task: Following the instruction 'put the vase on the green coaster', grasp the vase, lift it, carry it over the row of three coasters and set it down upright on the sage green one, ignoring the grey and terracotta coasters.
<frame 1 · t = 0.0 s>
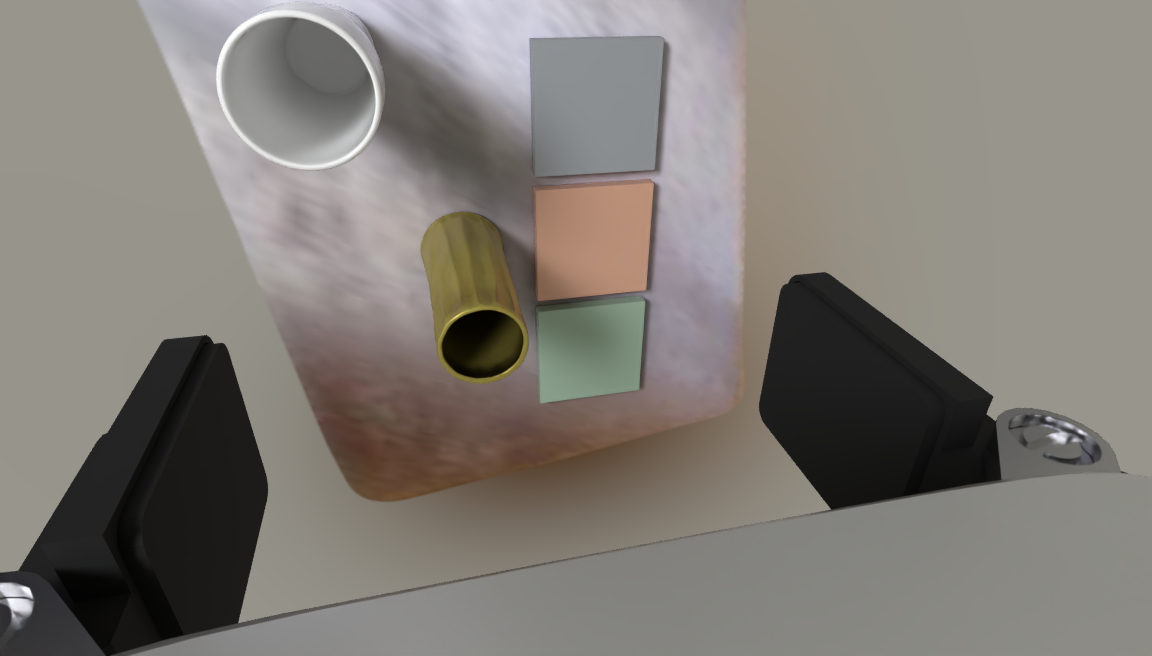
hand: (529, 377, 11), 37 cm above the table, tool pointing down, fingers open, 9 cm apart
terracotta coaster: (591, 238, 51), on the table
vase: (462, 248, 49), on the table
grey coaster: (594, 106, 46), on the table
green coaster: (588, 347, 56), on the table
drinking glass: (331, 49, 40), on the table
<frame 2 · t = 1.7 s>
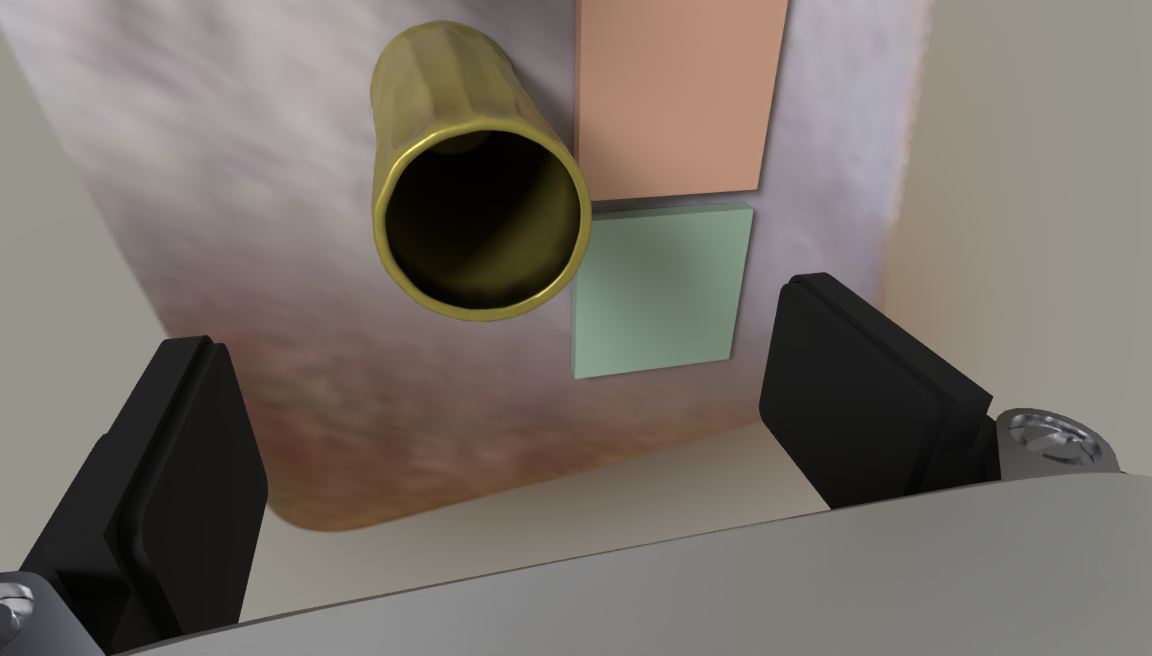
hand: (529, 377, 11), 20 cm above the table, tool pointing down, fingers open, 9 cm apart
terracotta coaster: (671, 92, 29), on the table
vase: (446, 99, 27), on the table
green coaster: (654, 288, 34), on the table
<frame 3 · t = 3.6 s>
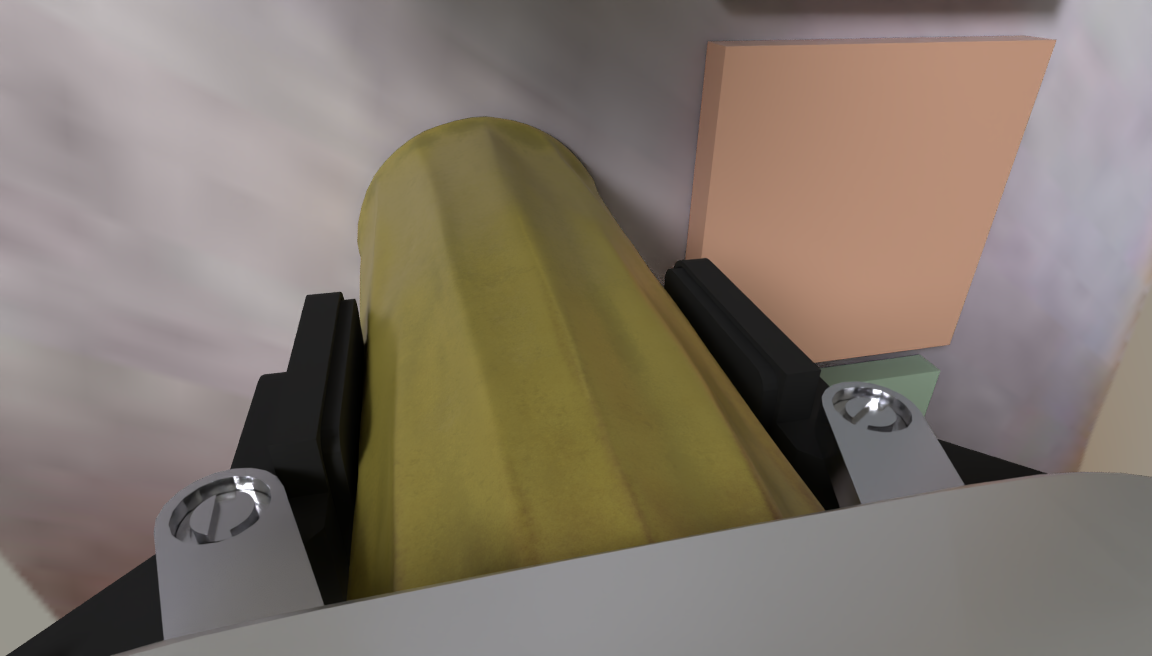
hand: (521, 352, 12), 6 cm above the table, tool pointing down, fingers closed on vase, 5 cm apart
terracotta coaster: (836, 210, 18), on the table
vase: (484, 235, 17), on the table, touching gripper
green coaster: (778, 474, 23), on the table
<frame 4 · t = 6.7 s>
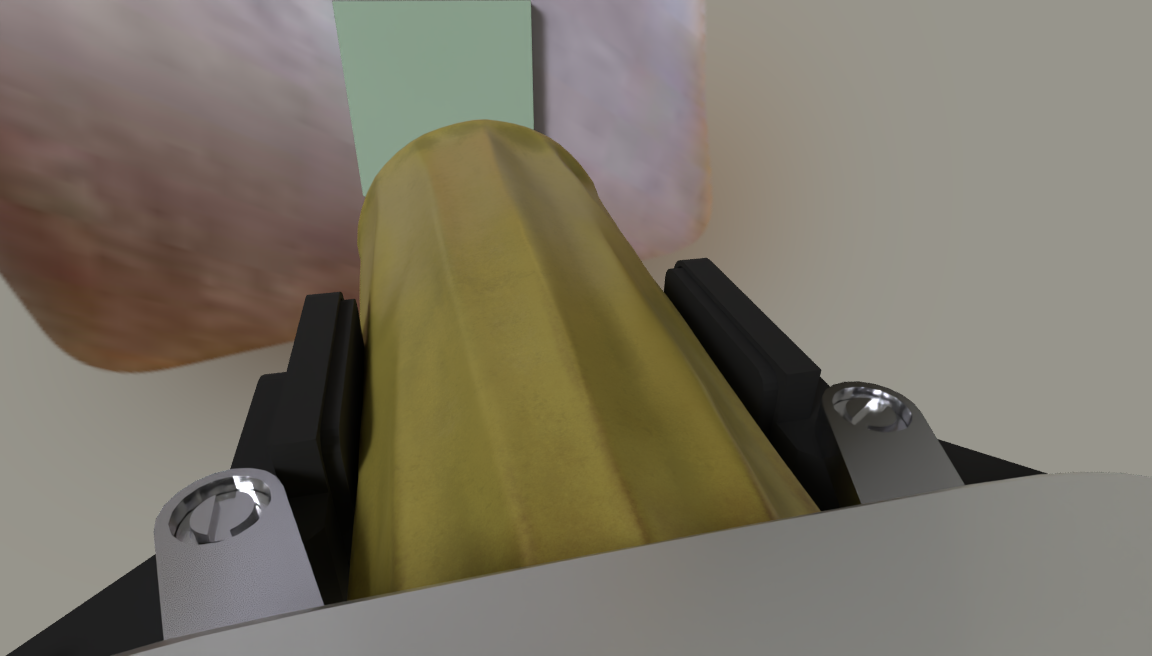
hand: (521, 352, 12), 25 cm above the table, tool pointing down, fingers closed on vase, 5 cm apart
vase: (484, 237, 17), point 19 cm above the table, touching gripper
green coaster: (442, 98, 33), on the table
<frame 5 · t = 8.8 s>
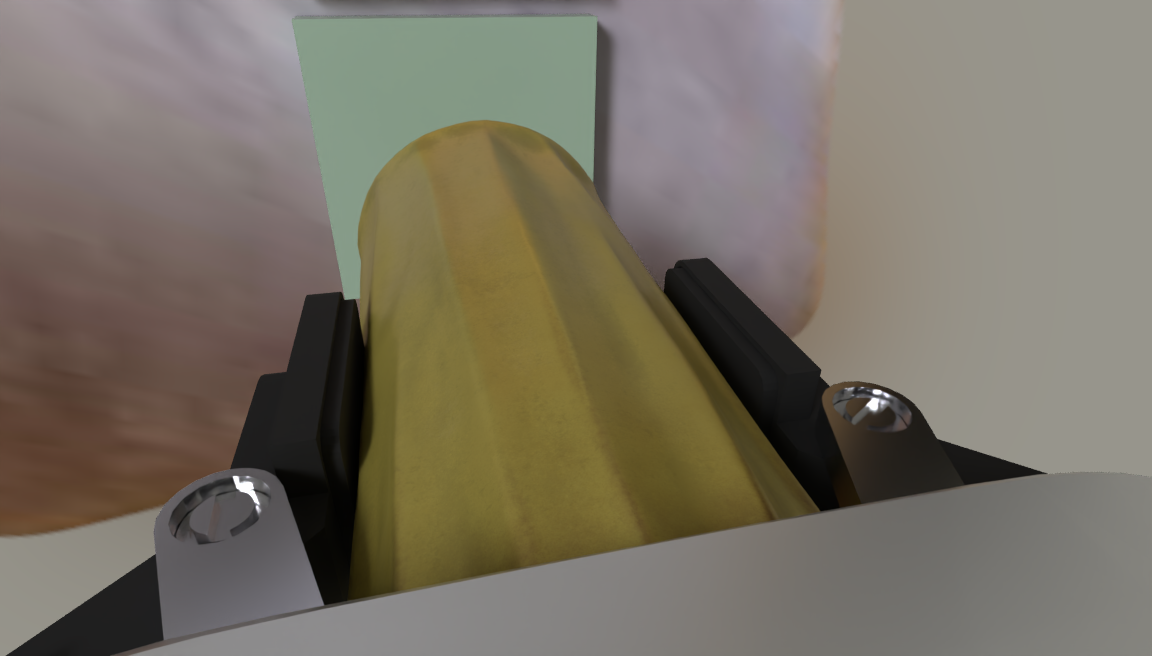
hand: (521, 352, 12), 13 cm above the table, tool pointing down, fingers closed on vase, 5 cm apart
vase: (484, 238, 17), point 7 cm above the table, touching gripper
green coaster: (460, 158, 22), on the table
when the fingers open (8 cm above the table, at t = 10.3 s): vase drops 1 cm, resting on green coaster.
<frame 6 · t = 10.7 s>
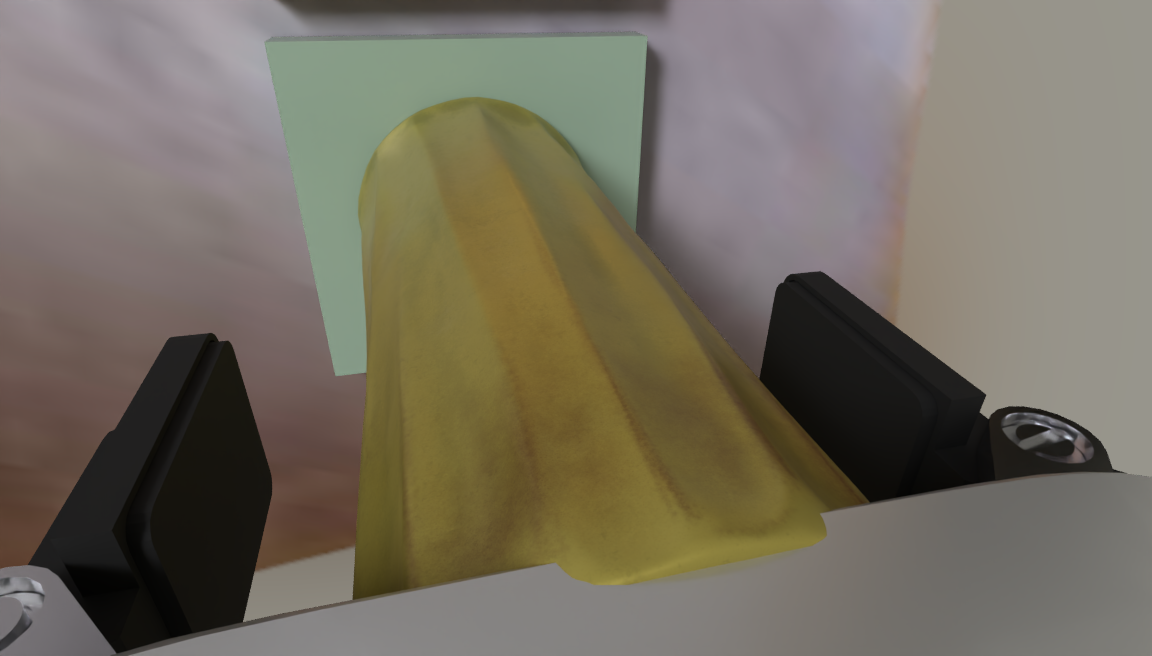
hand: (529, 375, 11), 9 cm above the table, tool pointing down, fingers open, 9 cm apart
vase: (477, 211, 18), point 1 cm above the table, touching green coaster
green coaster: (475, 206, 18), on the table
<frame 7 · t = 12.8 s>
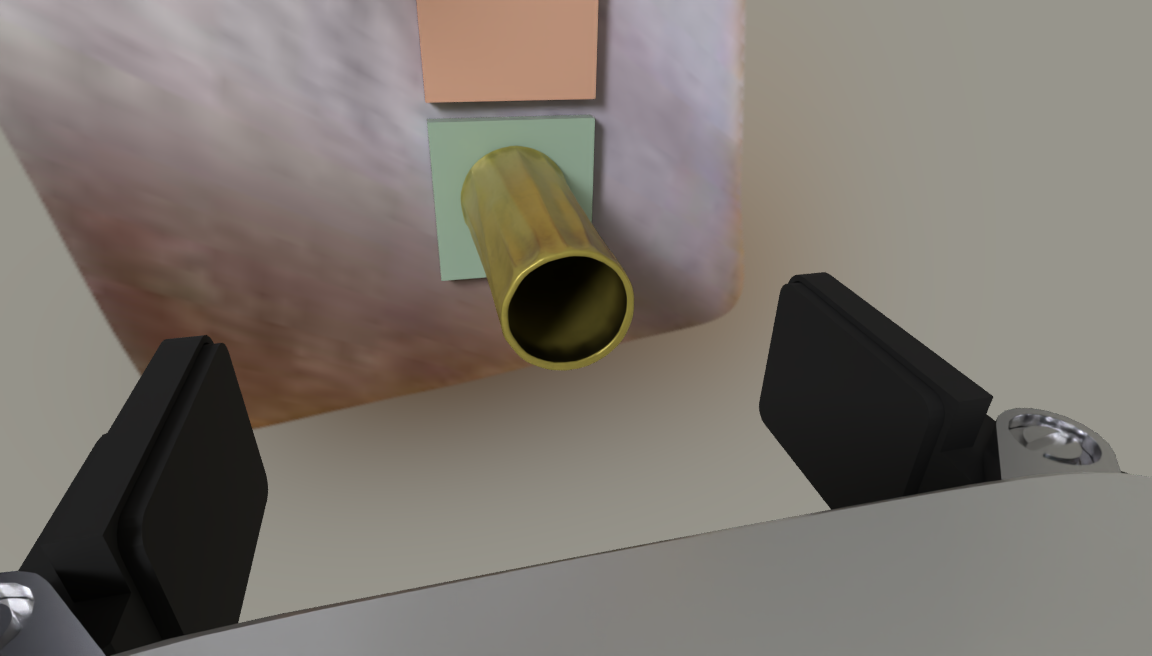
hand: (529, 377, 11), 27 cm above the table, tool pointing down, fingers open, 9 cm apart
terracotta coaster: (507, 4, 33), on the table
vase: (514, 198, 37), point 1 cm above the table, touching green coaster
green coaster: (513, 196, 38), on the table
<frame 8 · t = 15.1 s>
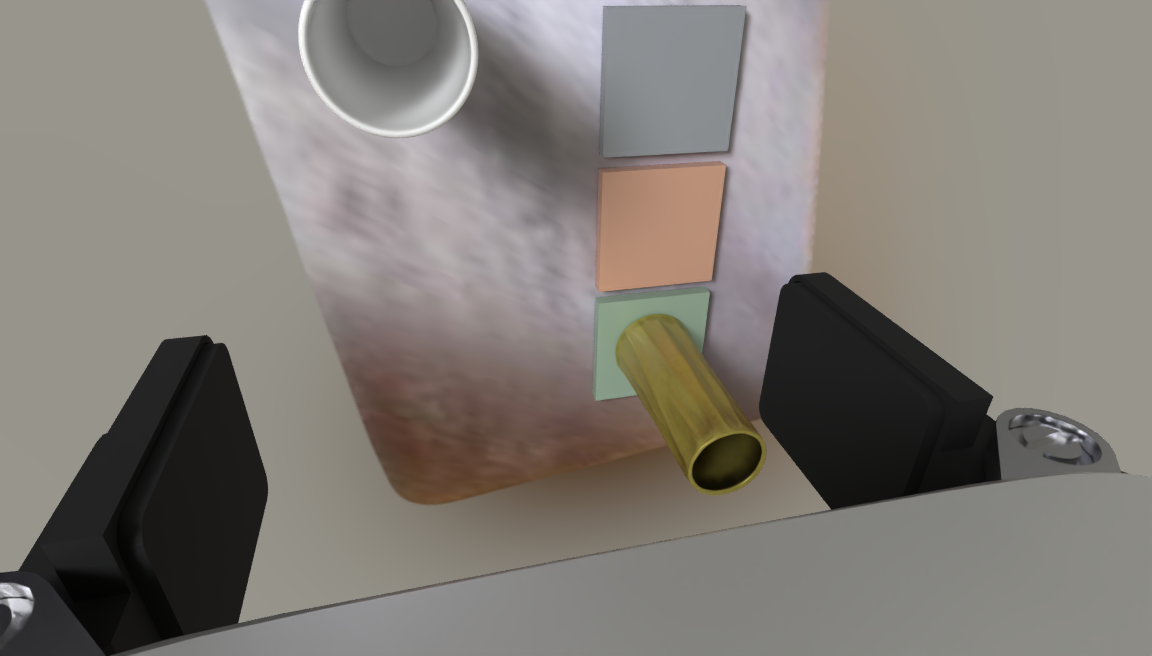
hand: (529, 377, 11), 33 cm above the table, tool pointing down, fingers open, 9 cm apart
terracotta coaster: (656, 225, 48), on the table
vase: (650, 344, 52), point 1 cm above the table, touching green coaster
grey coaster: (666, 81, 43), on the table
green coaster: (647, 341, 53), on the table
drinking glass: (392, 16, 37), on the table
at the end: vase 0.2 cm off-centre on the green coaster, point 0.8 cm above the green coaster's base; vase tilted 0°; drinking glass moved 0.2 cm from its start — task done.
